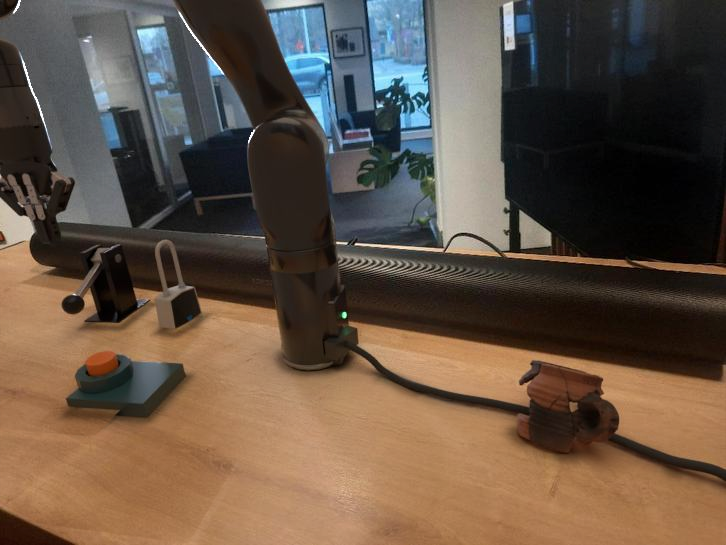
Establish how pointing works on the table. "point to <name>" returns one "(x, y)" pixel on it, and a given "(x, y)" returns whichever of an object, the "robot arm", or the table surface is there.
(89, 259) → the black lever base
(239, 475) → the table surface
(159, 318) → the padlock
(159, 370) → the control block
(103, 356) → the button
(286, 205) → the robot arm
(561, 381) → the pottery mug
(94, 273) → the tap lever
